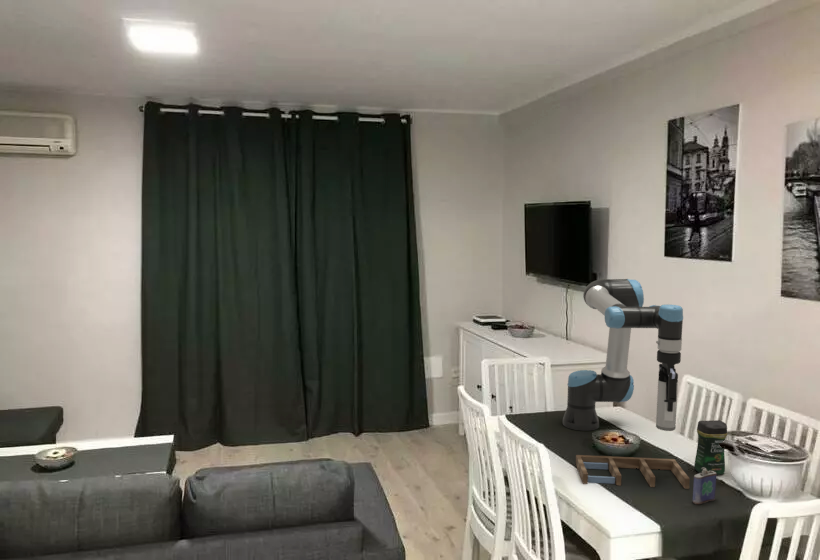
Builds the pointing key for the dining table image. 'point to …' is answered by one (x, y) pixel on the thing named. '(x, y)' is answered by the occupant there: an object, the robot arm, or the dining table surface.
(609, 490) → the dining table surface
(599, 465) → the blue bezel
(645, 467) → the divider rack
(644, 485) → the dining table surface
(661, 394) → the travel mug
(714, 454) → the coffee jar
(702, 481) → the flask
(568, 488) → the dining table surface
